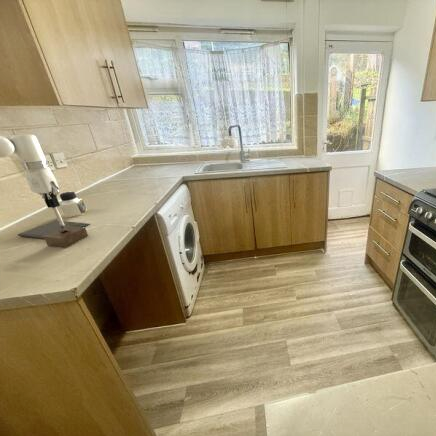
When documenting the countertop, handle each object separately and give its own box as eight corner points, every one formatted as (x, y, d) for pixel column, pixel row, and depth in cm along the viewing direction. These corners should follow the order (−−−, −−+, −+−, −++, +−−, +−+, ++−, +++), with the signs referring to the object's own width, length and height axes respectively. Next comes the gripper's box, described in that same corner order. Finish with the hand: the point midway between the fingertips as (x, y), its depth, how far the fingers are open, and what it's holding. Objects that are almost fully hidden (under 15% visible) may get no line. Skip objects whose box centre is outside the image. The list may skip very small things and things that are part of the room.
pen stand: (65, 248, 95) (61, 238, 93) (47, 246, 97) (42, 236, 95) (89, 237, 103) (85, 227, 102) (71, 235, 106) (67, 225, 104)
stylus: (62, 226, 112) (48, 195, 106) (59, 226, 112) (45, 195, 106) (65, 225, 113) (52, 194, 107) (63, 224, 113) (49, 194, 107)
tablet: (56, 240, 101) (55, 238, 101) (18, 235, 106) (17, 233, 106) (91, 225, 115) (90, 223, 114) (55, 221, 119) (55, 220, 119)
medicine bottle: (82, 215, 126) (72, 193, 120) (65, 218, 123) (54, 196, 118) (87, 210, 132) (77, 189, 127) (71, 213, 129) (61, 191, 124)
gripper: (11, 166, 100) (31, 208, 107) (39, 168, 96) (58, 211, 104) (32, 163, 106) (50, 202, 114) (59, 164, 103) (76, 204, 110)
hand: (54, 206), depth 109 cm, fingers closed on stylus, 1 cm apart
